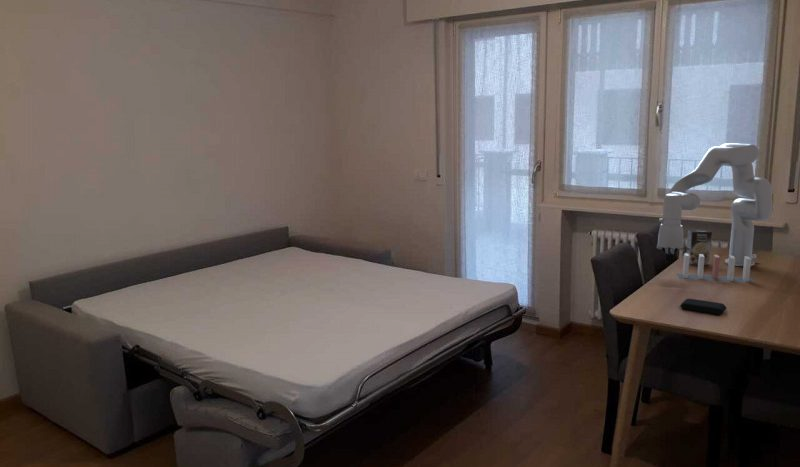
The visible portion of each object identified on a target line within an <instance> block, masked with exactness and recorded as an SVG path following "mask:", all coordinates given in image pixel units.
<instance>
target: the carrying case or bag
mask: <svg viewBox="0 0 800 467" xmlns="http://www.w3.org/2000/svg"><path fill="white" fill-rule="evenodd" d="M679 307H680V308H681V309H682V311H687V312H693V313H697V314H705V315H710V316H717V317H718V316H722V315H723V314H724V313H725V312H726V310H727V306H726V305H725V304H724V303H722V302H715V301H707V300H701V299H694V298H686V299H685V300H684V301H683V302H682V303H680V305H679Z"/></svg>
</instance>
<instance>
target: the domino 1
mask: <svg viewBox="0 0 800 467" xmlns="http://www.w3.org/2000/svg"><path fill="white" fill-rule="evenodd" d="M682 262H683V266H682V274H683V277H684V278H688V274H689V268H690V267H689V265H690V264H689V254H688V253H686V252H685V253H684V254H683V261H682Z"/></svg>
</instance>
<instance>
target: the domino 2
mask: <svg viewBox="0 0 800 467" xmlns="http://www.w3.org/2000/svg"><path fill="white" fill-rule="evenodd" d="M704 258H705V257H704V255H703V254H699V260H698V264H697V273H696V275H697V276H698V278H699V279H703V275H704V269H705V268H704V267H705V265H704Z"/></svg>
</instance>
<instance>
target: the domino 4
mask: <svg viewBox="0 0 800 467" xmlns="http://www.w3.org/2000/svg"><path fill="white" fill-rule="evenodd" d="M750 265H751V259H750V258H749V257H748V256H744V266H742V267H743V268H742V277H741V278H742V279H743V280H744V281H745V282H749V278H750V273H751V266H750Z"/></svg>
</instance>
